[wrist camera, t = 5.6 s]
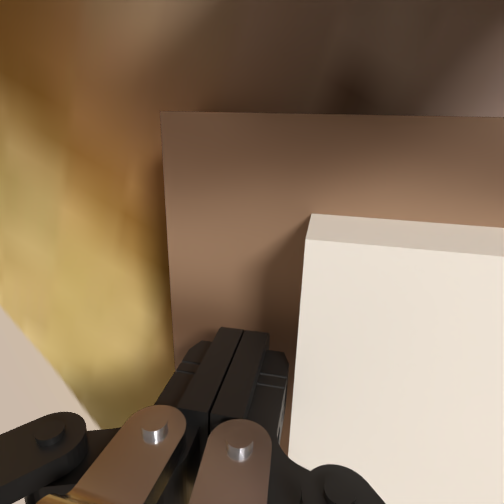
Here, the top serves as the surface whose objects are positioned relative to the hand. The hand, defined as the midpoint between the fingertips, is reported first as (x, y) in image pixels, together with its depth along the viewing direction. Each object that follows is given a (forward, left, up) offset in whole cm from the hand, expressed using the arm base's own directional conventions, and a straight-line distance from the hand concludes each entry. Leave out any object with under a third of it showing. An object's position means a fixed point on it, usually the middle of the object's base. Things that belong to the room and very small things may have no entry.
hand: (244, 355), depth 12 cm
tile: (0, +5, 0) cm, 5 cm away
